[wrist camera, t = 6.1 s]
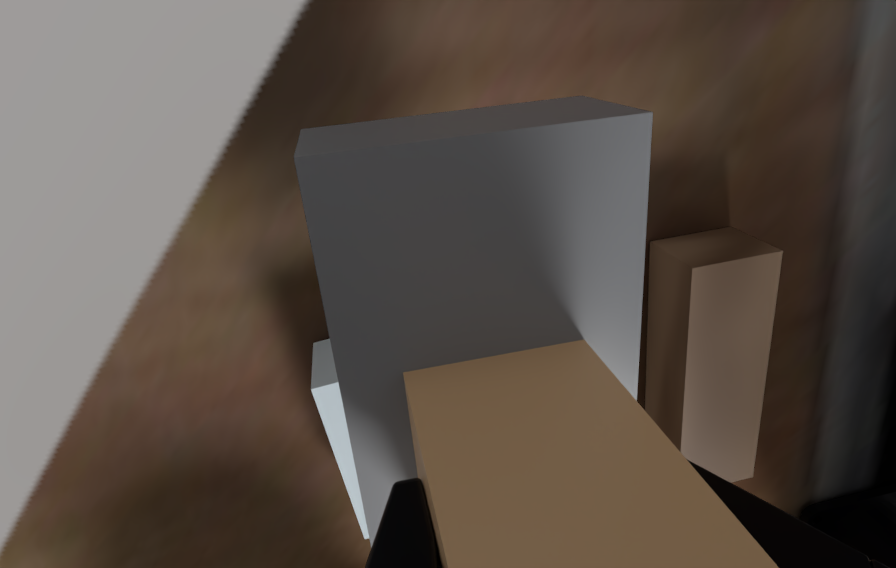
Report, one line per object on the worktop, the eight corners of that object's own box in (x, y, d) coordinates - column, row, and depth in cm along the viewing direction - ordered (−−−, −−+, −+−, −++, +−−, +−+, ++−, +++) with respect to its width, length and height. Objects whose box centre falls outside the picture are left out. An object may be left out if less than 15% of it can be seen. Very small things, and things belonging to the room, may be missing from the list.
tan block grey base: (581, 95, 10) (1783, 372, 2) (579, 510, 14) (947, 1195, 6) (301, 128, 10) (121, 829, 1) (381, 554, 14) (474, 1405, 5)
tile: (489, 292, 19) (514, 334, 17) (514, 431, 22) (540, 486, 19) (313, 338, 19) (310, 389, 16) (360, 475, 21) (364, 539, 19)
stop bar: (731, 226, 20) (783, 250, 18) (711, 434, 24) (753, 477, 21) (649, 241, 19) (692, 268, 17) (643, 451, 23) (677, 495, 21)
